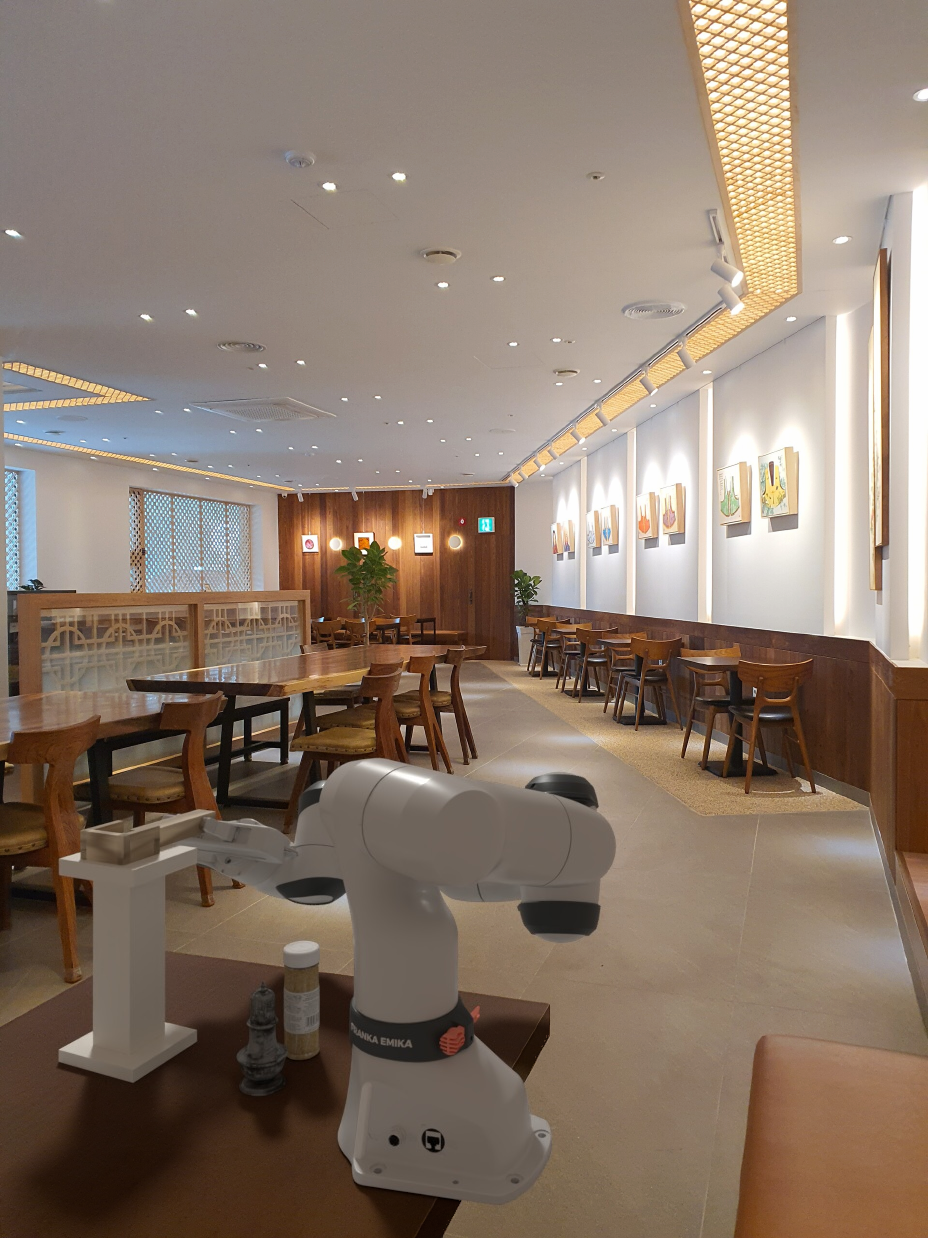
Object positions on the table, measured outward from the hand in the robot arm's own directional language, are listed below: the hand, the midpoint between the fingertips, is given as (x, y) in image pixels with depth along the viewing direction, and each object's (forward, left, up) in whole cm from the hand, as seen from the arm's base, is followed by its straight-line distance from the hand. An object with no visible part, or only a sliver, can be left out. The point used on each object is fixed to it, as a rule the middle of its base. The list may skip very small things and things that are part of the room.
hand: (191, 821), depth 121 cm
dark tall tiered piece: (-20, +11, -27) cm, 35 cm away
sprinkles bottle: (-20, +3, -27) cm, 34 cm away
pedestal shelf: (0, +11, -27) cm, 29 cm away
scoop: (0, +6, -2) cm, 6 cm away
